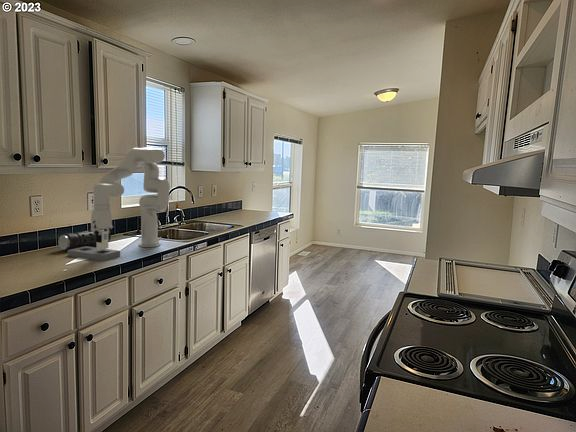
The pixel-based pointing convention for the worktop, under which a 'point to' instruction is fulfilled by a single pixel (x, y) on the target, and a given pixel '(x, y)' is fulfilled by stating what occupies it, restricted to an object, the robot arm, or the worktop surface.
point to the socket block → (93, 253)
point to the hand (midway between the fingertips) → (102, 241)
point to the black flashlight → (78, 240)
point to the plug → (103, 240)
